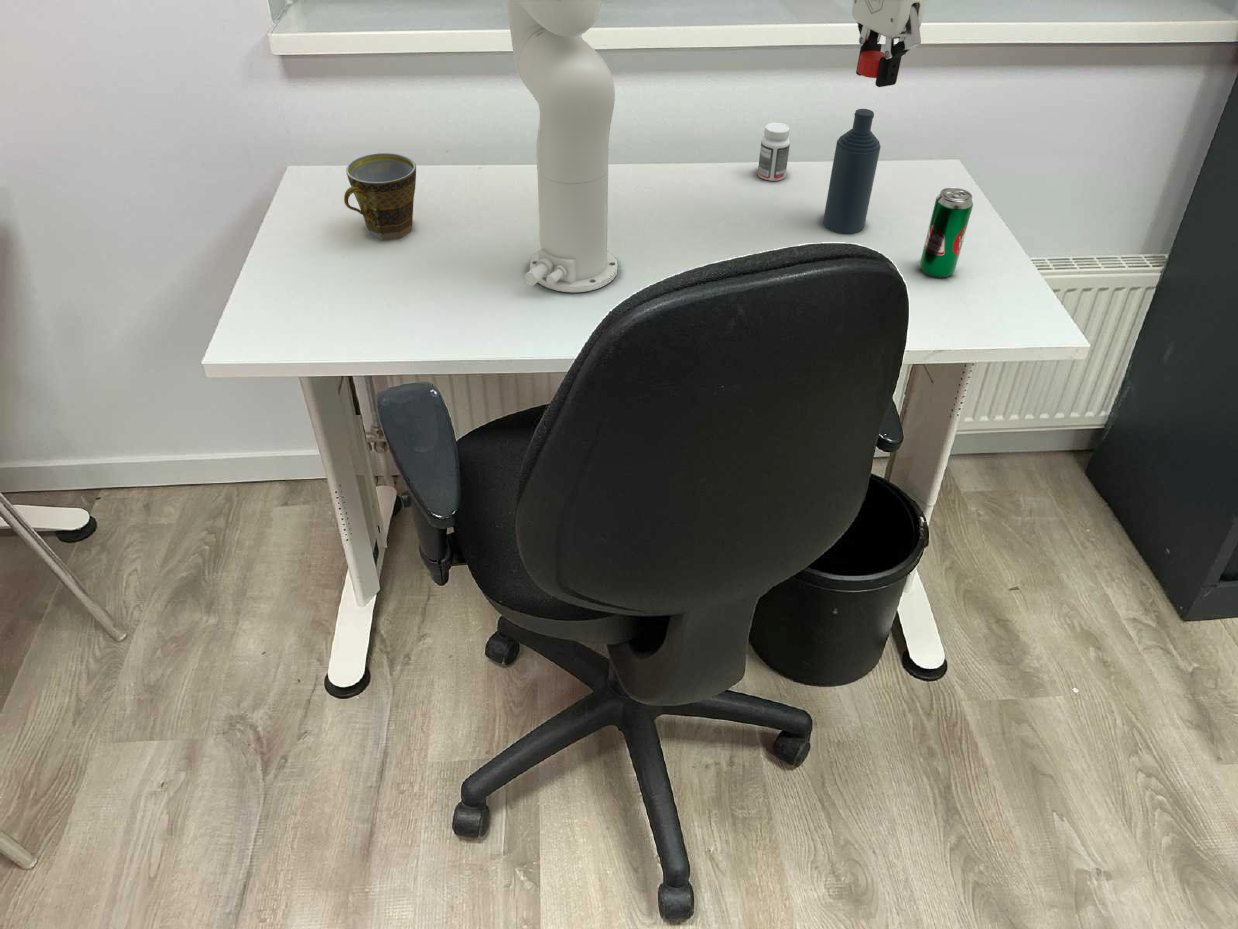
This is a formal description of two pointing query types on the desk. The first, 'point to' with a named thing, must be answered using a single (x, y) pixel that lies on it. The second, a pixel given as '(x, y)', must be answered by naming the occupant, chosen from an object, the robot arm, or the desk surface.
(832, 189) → the bottle
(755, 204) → the desk surface
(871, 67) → the cap
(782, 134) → the pill bottle
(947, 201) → the soda can
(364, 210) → the ceramic cup
